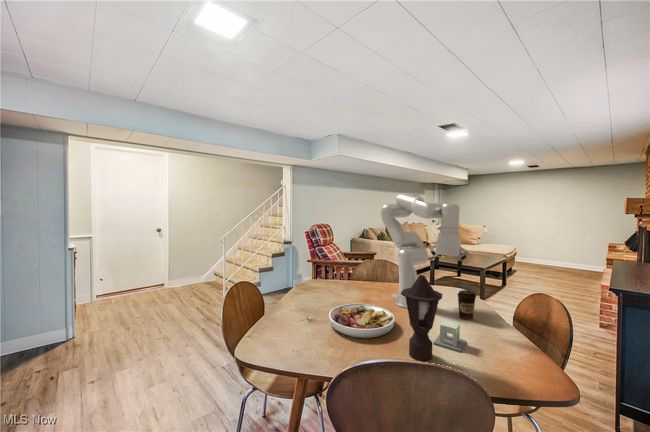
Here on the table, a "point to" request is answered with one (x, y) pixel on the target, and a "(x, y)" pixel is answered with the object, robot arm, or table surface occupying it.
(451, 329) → the notched sage block
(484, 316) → the table surface
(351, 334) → the bowl
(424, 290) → the lantern
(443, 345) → the felt pad
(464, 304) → the coffee cup
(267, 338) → the table surface
